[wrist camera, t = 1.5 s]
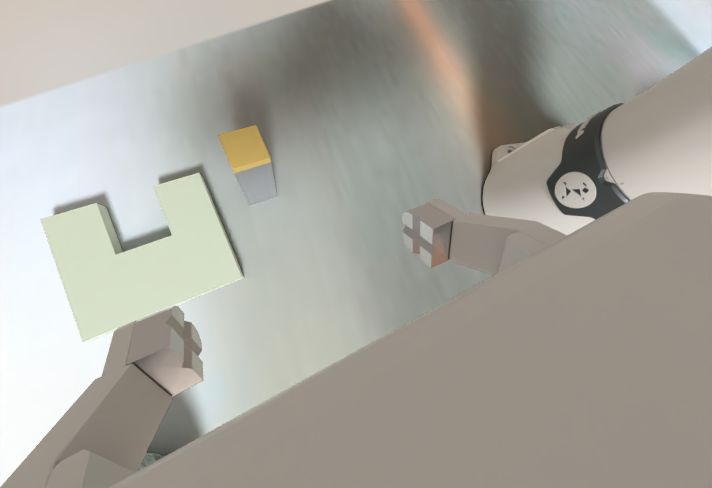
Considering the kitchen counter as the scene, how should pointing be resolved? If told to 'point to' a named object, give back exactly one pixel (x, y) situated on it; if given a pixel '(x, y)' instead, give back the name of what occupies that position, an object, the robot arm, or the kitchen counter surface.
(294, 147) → the kitchen counter surface
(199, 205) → the notched board
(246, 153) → the grey and yellow block
